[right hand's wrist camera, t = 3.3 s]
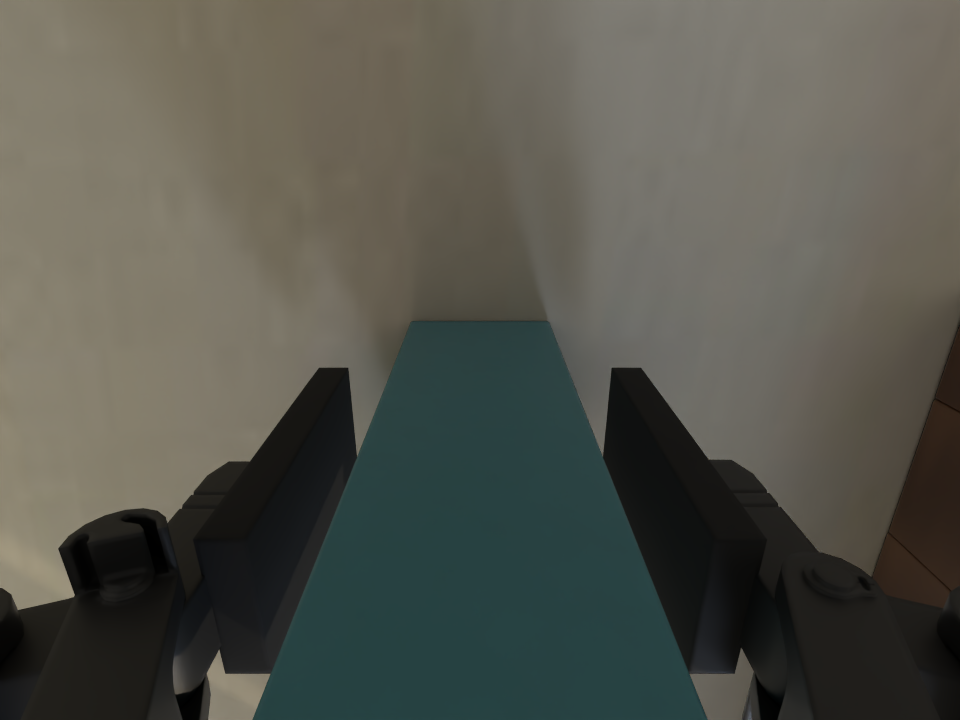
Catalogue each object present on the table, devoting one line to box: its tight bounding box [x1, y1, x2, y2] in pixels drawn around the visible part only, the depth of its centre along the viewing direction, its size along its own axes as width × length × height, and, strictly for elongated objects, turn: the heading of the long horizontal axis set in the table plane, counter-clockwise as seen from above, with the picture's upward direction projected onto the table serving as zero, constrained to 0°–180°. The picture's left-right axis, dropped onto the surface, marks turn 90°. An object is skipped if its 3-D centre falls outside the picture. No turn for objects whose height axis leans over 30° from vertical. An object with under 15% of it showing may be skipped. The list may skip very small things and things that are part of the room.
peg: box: [253, 321, 707, 720], centre depth 10 cm, size 4×4×14 cm
